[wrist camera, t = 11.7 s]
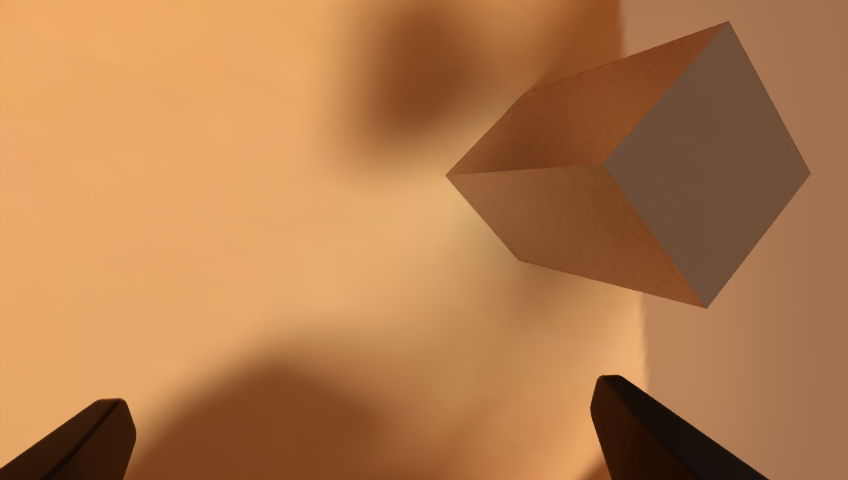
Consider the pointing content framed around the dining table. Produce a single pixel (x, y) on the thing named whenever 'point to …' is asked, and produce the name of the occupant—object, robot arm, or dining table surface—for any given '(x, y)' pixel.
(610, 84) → the grey rectangular block
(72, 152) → the dining table surface
